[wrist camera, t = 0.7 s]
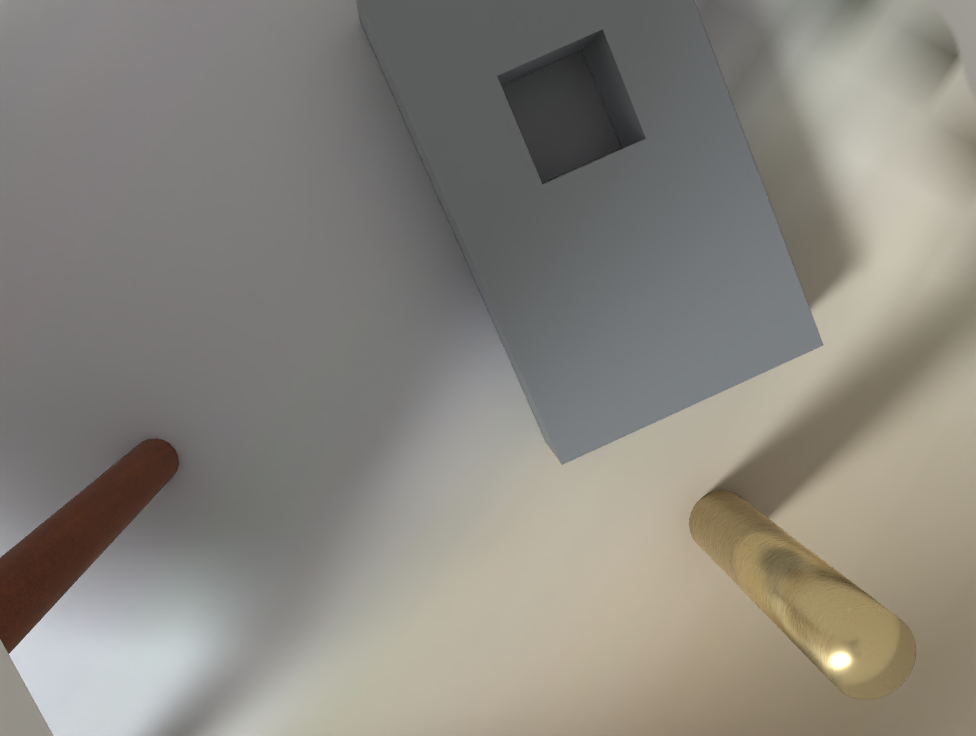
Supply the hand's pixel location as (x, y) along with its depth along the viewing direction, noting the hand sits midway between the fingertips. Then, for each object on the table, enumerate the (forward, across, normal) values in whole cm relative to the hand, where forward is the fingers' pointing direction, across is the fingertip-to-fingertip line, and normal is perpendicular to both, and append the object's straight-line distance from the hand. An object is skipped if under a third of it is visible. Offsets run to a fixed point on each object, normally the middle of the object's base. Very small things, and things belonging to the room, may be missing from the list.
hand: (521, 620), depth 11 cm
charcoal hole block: (+31, -2, +4) cm, 32 cm away
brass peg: (+27, -7, +20) cm, 34 cm away
